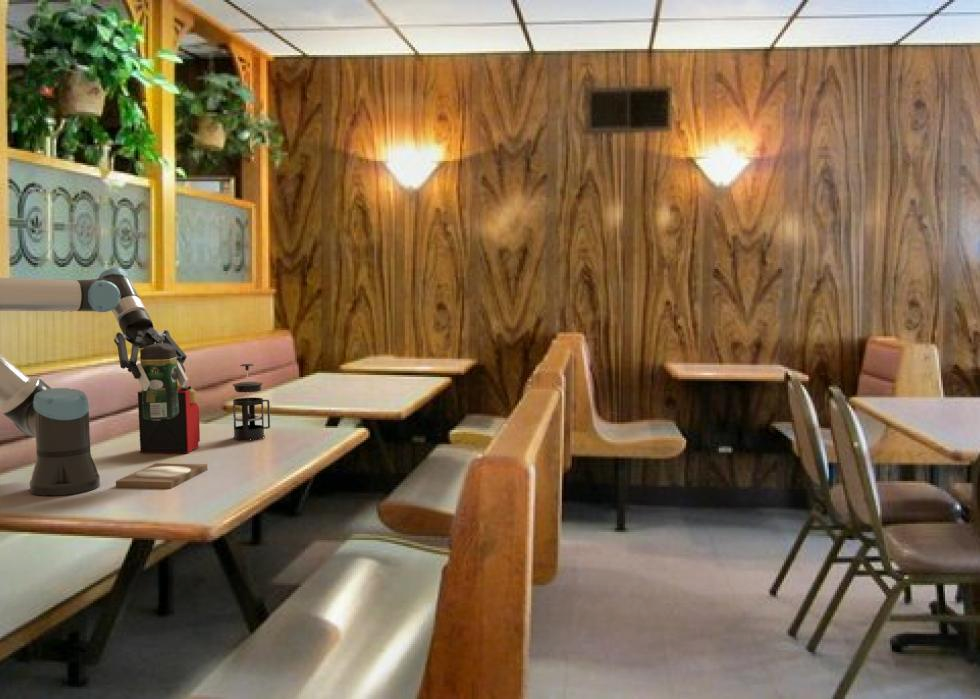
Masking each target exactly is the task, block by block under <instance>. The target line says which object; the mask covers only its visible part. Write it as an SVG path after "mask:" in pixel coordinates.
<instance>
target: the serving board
mask: <svg viewBox="0 0 980 699" xmlns="http://www.w3.org/2000/svg"><path fill="white" fill-rule="evenodd" d="M206 471H208V464H207V463H205V464H204V463H167V462H166V463H162V462H161V463H159V462H158V463H153V464H152V465H149V466H147V467H145V468H143V469H140V470H137V471H136V472H135V471H134V472H133V473H131V474H129V475H126V476H124V477H122V478H119V479H117V480H115V487H116V488H139V489H141V488H146V489H151V488H152V489H172V488H175V487H176V486H179V485H180V484H183V483H184V482H187V481H189V480H190V479H192V478H194V477H196V476H199V475H200V474H202V473H204V472H206Z"/></svg>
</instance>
